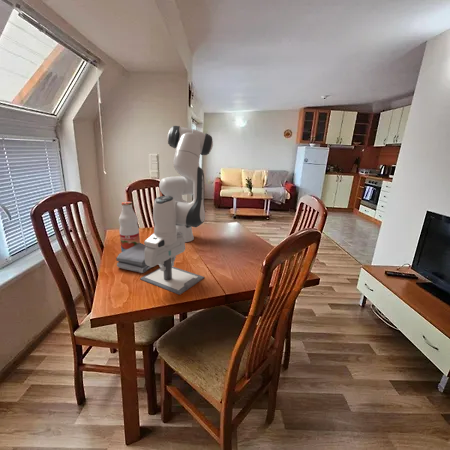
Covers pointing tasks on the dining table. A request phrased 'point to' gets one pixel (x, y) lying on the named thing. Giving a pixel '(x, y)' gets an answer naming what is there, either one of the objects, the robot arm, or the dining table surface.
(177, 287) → the clipboard
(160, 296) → the dining table surface
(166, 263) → the marker
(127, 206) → the fruit juice
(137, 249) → the towel
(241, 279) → the dining table surface
